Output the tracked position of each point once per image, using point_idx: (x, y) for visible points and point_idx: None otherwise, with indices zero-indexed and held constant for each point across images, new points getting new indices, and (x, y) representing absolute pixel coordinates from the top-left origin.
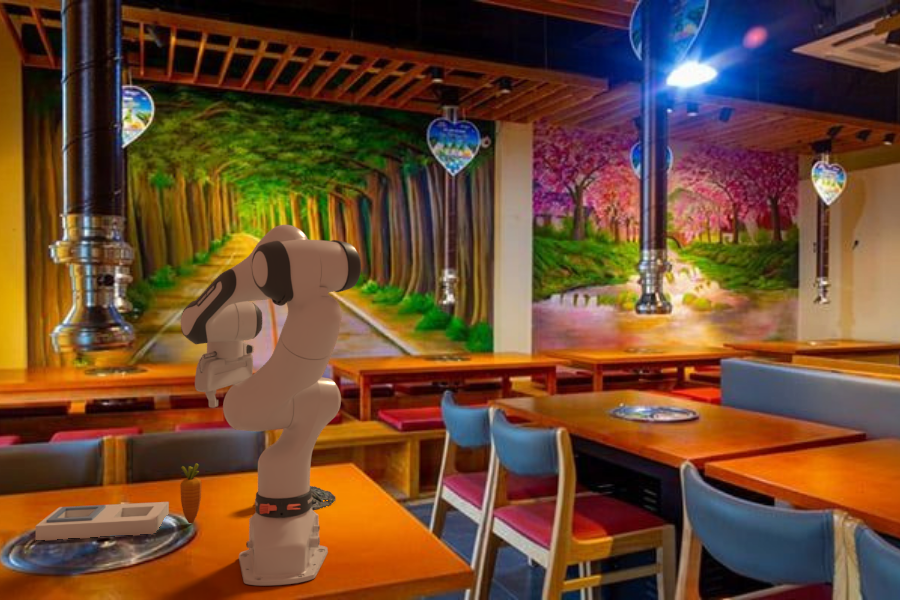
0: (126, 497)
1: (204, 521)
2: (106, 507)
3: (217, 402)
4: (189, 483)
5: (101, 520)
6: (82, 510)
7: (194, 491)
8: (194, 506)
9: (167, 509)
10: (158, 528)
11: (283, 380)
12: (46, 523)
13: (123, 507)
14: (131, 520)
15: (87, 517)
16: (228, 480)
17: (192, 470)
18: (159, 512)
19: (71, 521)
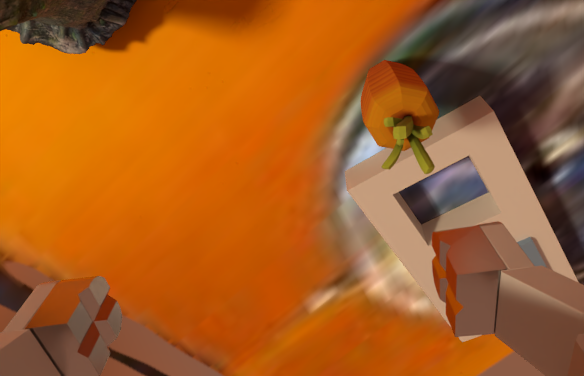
0: (285, 322)
1: (347, 52)
2: None
3: (462, 252)
4: (432, 102)
5: (528, 218)
6: None
7: (415, 78)
8: (401, 65)
9: (357, 175)
10: (445, 116)
11: None
12: None
13: (425, 246)
14: (514, 159)
15: (533, 249)
16: (61, 238)
17: (412, 130)
18: (434, 145)
19: (547, 264)
